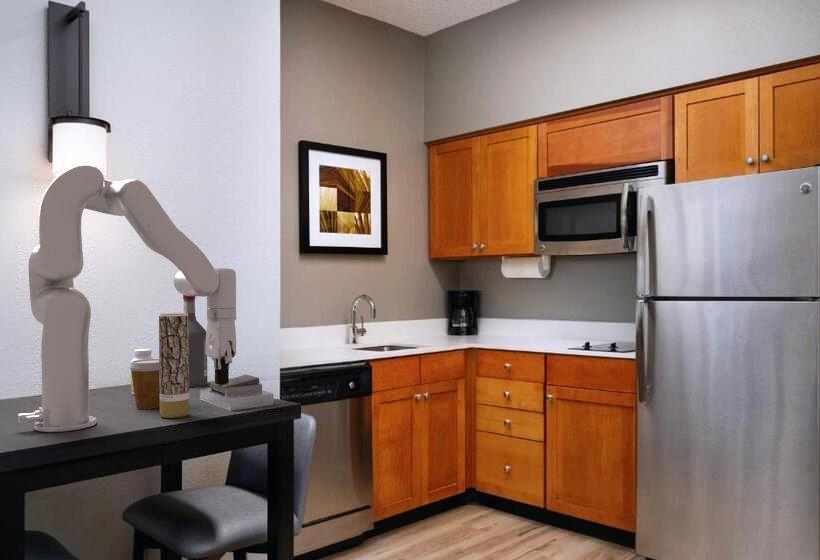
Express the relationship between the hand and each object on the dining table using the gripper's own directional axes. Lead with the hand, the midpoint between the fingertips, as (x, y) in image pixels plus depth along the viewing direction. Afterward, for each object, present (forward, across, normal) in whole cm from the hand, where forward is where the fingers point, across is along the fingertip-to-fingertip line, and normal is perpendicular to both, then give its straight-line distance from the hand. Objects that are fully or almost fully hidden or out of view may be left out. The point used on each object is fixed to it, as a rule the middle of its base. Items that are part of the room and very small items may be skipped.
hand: (221, 383), depth 178 cm
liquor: (+6, -36, +5) cm, 37 cm away
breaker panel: (+5, 0, +4) cm, 7 cm away
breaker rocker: (0, 0, +4) cm, 4 cm away
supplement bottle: (+6, -30, -11) cm, 32 cm away
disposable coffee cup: (+6, -9, -16) cm, 19 cm away
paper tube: (+6, +7, -15) cm, 18 cm away
